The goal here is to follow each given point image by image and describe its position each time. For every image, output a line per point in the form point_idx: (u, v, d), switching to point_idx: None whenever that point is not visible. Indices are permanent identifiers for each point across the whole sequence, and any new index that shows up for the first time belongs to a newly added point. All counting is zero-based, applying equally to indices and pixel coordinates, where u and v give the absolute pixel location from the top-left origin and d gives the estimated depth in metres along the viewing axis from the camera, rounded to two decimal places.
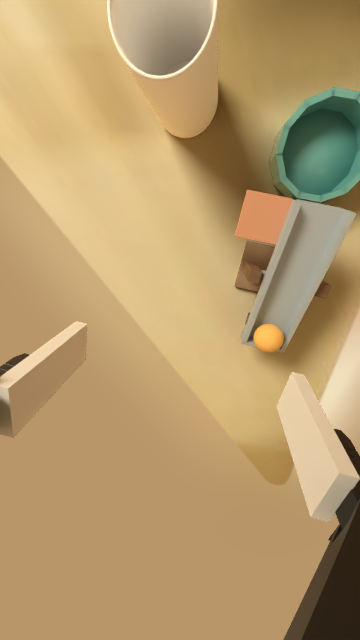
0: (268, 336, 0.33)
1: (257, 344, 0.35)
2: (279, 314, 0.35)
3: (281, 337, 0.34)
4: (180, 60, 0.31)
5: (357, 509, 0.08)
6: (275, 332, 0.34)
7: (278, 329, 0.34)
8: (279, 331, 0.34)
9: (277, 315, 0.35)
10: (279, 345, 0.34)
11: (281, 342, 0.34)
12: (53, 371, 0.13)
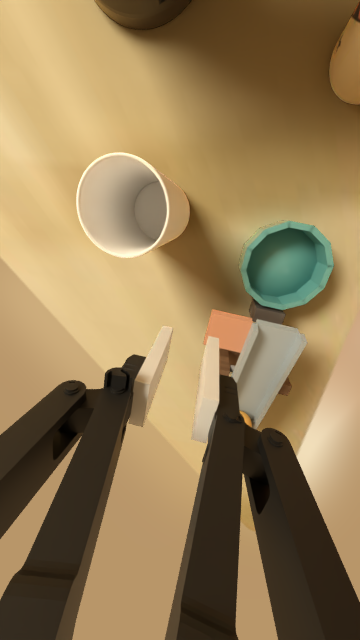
0: None
1: None
2: (248, 402, 0.38)
3: None
4: (154, 181, 0.34)
5: (214, 431, 0.10)
6: None
7: (246, 419, 0.37)
8: (247, 421, 0.37)
9: (246, 402, 0.38)
10: None
11: None
12: (159, 370, 0.15)
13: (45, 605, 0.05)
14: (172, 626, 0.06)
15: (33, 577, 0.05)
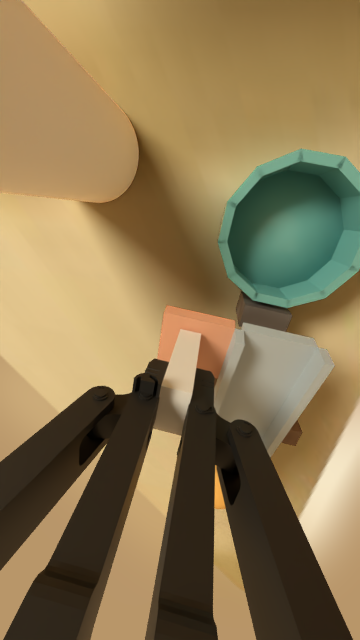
0: (215, 493, 0.23)
1: None
2: None
3: None
4: None
5: (186, 424, 0.10)
6: None
7: None
8: None
9: None
10: None
11: None
12: None
13: (65, 612, 0.05)
14: (151, 623, 0.06)
15: (55, 580, 0.05)
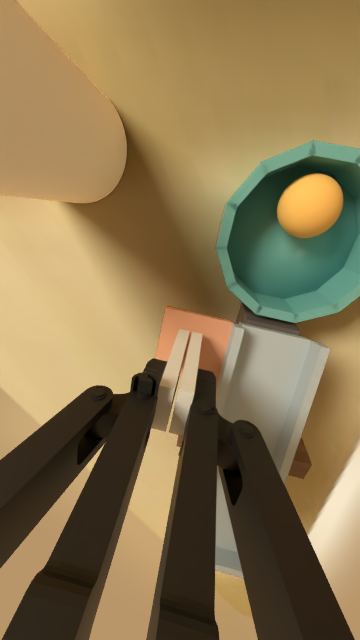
0: None
1: (296, 185, 0.16)
2: None
3: None
4: None
5: (188, 424, 0.10)
6: None
7: None
8: None
9: None
10: None
11: None
12: (179, 374, 0.15)
13: (64, 611, 0.05)
14: (153, 623, 0.06)
15: (54, 579, 0.05)
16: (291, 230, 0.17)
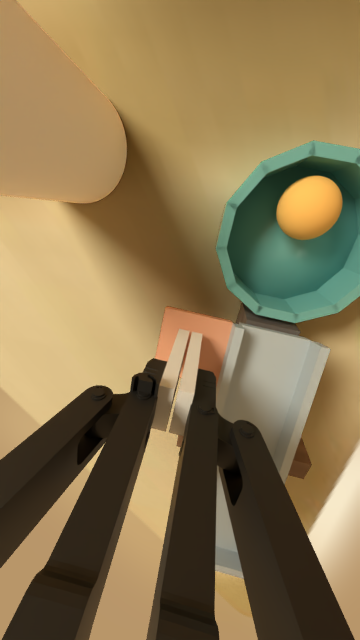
0: None
1: (296, 188, 0.16)
2: None
3: None
4: None
5: (188, 424, 0.10)
6: None
7: None
8: None
9: None
10: None
11: None
12: (179, 374, 0.15)
13: (64, 611, 0.05)
14: (153, 623, 0.06)
15: (54, 579, 0.05)
16: (289, 232, 0.17)
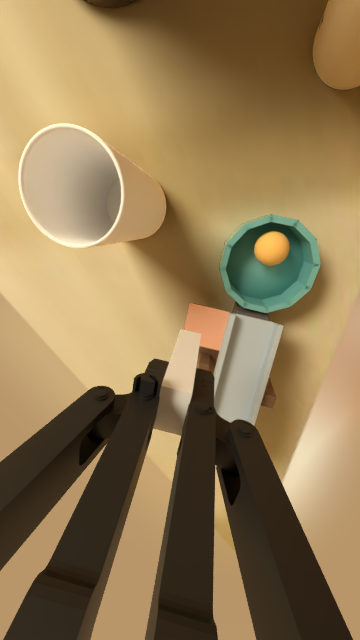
0: None
1: (263, 239, 0.29)
2: None
3: None
4: None
5: (186, 424, 0.10)
6: None
7: None
8: None
9: None
10: (286, 238, 0.29)
11: None
12: None
13: (65, 611, 0.05)
14: (151, 623, 0.06)
15: (55, 580, 0.05)
16: (261, 262, 0.30)
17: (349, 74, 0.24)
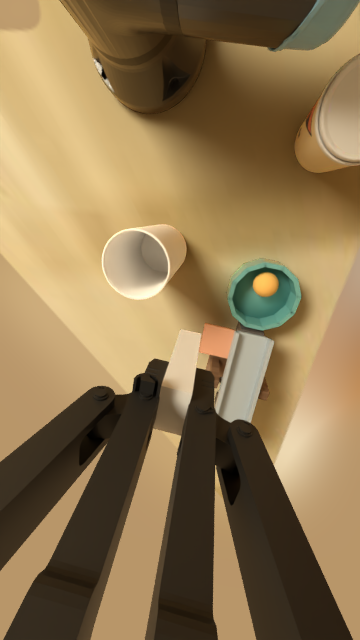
0: (265, 272, 0.41)
1: (259, 279, 0.40)
2: (236, 412, 0.44)
3: None
4: None
5: (186, 424, 0.10)
6: None
7: None
8: None
9: (234, 413, 0.44)
10: (276, 278, 0.40)
11: None
12: None
13: (65, 611, 0.05)
14: (151, 623, 0.06)
15: (55, 580, 0.05)
16: None
17: (319, 169, 0.34)
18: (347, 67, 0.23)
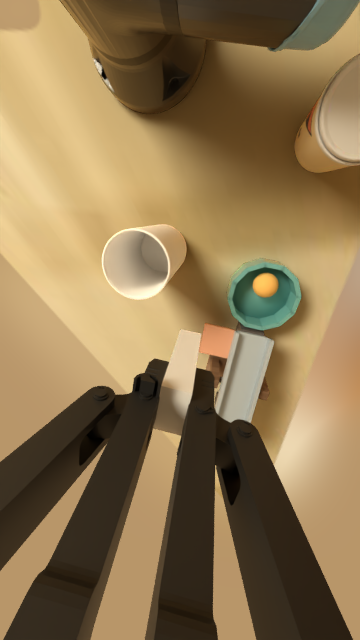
0: None
1: (259, 280, 0.40)
2: (236, 412, 0.44)
3: None
4: None
5: (186, 424, 0.10)
6: None
7: None
8: None
9: (234, 413, 0.44)
10: (276, 278, 0.40)
11: None
12: None
13: (65, 612, 0.05)
14: (151, 622, 0.06)
15: (55, 580, 0.05)
16: None
17: (319, 169, 0.34)
18: (347, 67, 0.23)
